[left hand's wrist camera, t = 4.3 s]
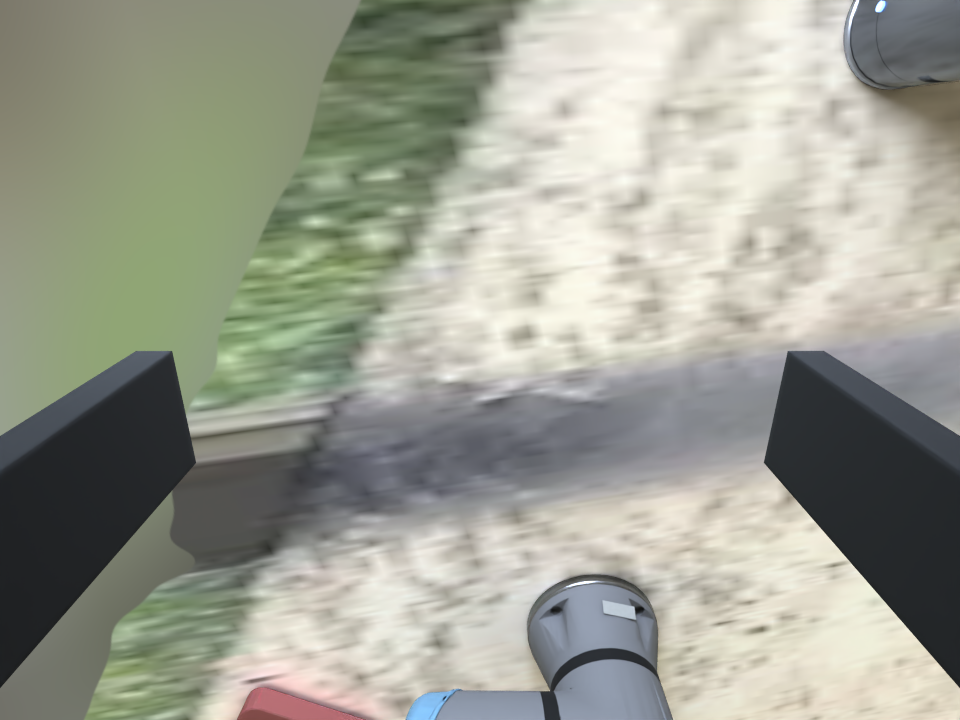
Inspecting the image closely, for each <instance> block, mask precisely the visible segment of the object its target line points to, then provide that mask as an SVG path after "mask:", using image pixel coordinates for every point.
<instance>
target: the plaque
mask: <svg viewBox="0 0 960 720" xmlns="http://www.w3.org/2000/svg"><path fill="white" fill-rule="evenodd" d="M237 720H365V719H361V718H358V717H355V716H352V715H349V714H346V713H343V712H340V711H337V710H334V709H330V708H327V707H324V706H321V705H318V704H315V703H312V702H309V701H306V700H302V699H299V698H296V697H293V696H290V695H287V694H284V693H281V692H278V691H275V690H271V689H268V688H257V689H254V690H253V691H252V692H251V693H250V694H249V695H248V697H247V700H246V702H245V704H244V706H243V708H242V710H241V712H240V714H239V717H238V719H237Z"/></svg>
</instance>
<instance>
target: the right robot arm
mask: <svg viewBox="0 0 960 720" xmlns="http://www.w3.org/2000/svg"><path fill="white" fill-rule="evenodd" d="M844 51H845V55H846V59H847V61H848V64H849V66H850V68H851V70H852V71H853V72H854V74H855V75H856V76H857V77H858V78H859V79H860V80H861V81H863V82H864V83H866V84H868V85H870V86H872V87H875V88H879V89H900V88H906V87H911V86H918V85H923V84H932V83H940V82H949V81H957V80H960V0H854V1H853V3H852V5H851V7H850V10H849V12H848V15H847V19H846V23H845V28H844ZM957 82H959V81H957ZM950 83H951V82H950ZM942 84H943V83H942ZM934 85H936V84H934ZM926 86H928V85H926ZM919 87H920V86H919Z"/></svg>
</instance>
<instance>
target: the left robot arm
mask: <svg viewBox="0 0 960 720" xmlns="http://www.w3.org/2000/svg"><path fill="white" fill-rule="evenodd" d="M195 463H196V460H195V456H194V451H193V446H192V442H191V437H190V432H189V428H188V423H187V418H186V414H185V409H184V404H183V400H182V395H181V391H180V386H179V381H178V376H177V372H176V367H175V363H174V358H173V353H172V351H136V352H134V353H132V354H131V355H129V356H128V357H126V358H124V359H123V360H121V361H120V362H118V363H116V364H115V365H113V366H112V367H110V368H108V369H107V370H105V371H104V372H102V373H100V374H99V375H97V376H96V377H94V378H92V379H91V380H89V381H88V382H86V383H84V384H83V385H81V386H80V387H78V388H76V389H75V390H73V391H72V392H70V393H68V394H67V395H65V396H64V397H62V398H60V399H59V400H57V401H56V402H54V403H52V404H51V405H49V406H48V407H46V408H44V409H43V410H41V411H40V412H38V413H36V414H35V415H33V416H32V417H30V418H28V419H27V420H25V421H24V422H22V423H20V424H19V425H17V426H16V427H14V428H12V429H11V430H9V431H8V432H6V433H4V434H3V435H1V436H0V688H1V686H2V685H3V684H4V683H5V682H6V681H7V679H8V678H9V677H10V676H11V675H12V674H13V673H14V671H15V670H16V669H17V668H18V667H19V666H20V664H21V663H22V662H23V661H24V660H25V659H26V658H27V656H28V655H29V654H30V653H31V652H32V651H33V649H34V648H35V647H36V646H37V645H38V644H39V643H40V642H41V640H42V639H43V638H44V637H45V636H46V635H47V633H48V632H49V631H50V630H51V629H52V628H53V627H54V625H55V624H56V623H57V622H58V621H59V620H60V619H61V617H62V616H63V615H64V614H65V613H66V612H67V610H68V609H69V608H70V607H71V606H72V605H73V604H74V602H75V601H76V600H77V599H78V598H79V597H80V596H81V594H82V593H83V592H84V591H85V590H86V589H87V588H88V586H89V585H90V584H91V583H92V582H93V581H94V579H95V578H96V577H97V576H98V575H99V574H100V573H101V571H102V570H103V569H104V568H105V567H106V566H107V565H108V563H109V562H110V561H111V560H112V559H113V558H114V556H115V555H116V554H117V553H118V552H119V551H120V549H121V548H122V547H123V546H124V545H125V544H126V543H127V541H128V540H129V539H130V538H131V537H132V536H133V535H134V533H135V532H136V531H137V530H138V529H139V528H140V526H141V525H142V524H143V523H144V522H145V521H146V520H147V519H148V517H149V516H150V515H151V514H152V513H153V512H154V510H155V509H156V508H157V507H158V506H159V505H160V504H161V502H162V501H163V500H164V499H165V498H166V497H167V495H168V494H169V493H170V492H171V491H172V490H173V489H174V487H175V486H176V485H177V484H178V483H179V482H180V481H181V479H182V478H183V477H184V476H185V475H186V474H187V473H188V471H189V470H190V469H191V468H192V467H193V466H194V464H195ZM764 463H765V464H766V466H767V467H768V468H769V469H770V470H771V471H772V473H773V474H774V475H775V476H776V477H777V478H778V479H779V481H780V482H781V483H782V484H783V485H784V486H785V487H786V489H787V490H788V491H789V492H790V493H791V494H792V496H793V497H794V498H795V499H796V500H797V501H798V502H799V504H800V505H801V506H802V507H803V508H804V509H805V510H806V512H807V513H808V514H809V515H810V516H811V517H812V519H813V520H814V521H815V522H816V523H817V524H818V525H819V527H820V528H821V529H822V530H823V531H824V532H825V533H826V535H827V536H828V537H829V538H830V539H831V540H832V542H833V543H834V544H835V545H836V546H837V547H838V548H839V550H840V551H841V552H842V553H843V554H844V555H845V556H846V558H847V559H848V560H849V561H850V562H851V563H852V565H853V566H854V567H855V568H856V569H857V570H858V571H859V573H860V574H861V575H862V576H863V577H864V578H865V579H866V581H867V582H868V583H869V584H870V585H871V586H872V588H873V589H874V590H875V591H876V592H877V593H878V594H879V596H880V597H881V598H882V599H883V600H884V601H885V602H886V604H887V605H888V606H889V607H890V608H891V609H892V610H893V612H894V613H895V614H896V615H897V616H898V617H899V619H900V620H901V621H902V622H903V623H904V624H905V625H906V627H907V628H908V629H909V630H910V631H911V632H912V633H913V635H914V636H915V637H916V638H917V639H918V640H919V642H920V643H921V644H922V645H923V646H924V647H925V648H926V650H927V651H928V652H929V653H930V654H931V655H932V656H933V658H934V659H935V660H936V661H937V662H938V663H939V665H940V666H941V667H942V668H943V669H944V670H945V671H946V673H947V674H948V675H949V676H950V677H951V678H952V679H953V681H954V682H955V683H956V684H957V685H958V686H959V688H960V436H959V435H957V434H956V433H954V432H952V431H951V430H949V429H948V428H946V427H944V426H943V425H941V424H940V423H938V422H936V421H935V420H933V419H932V418H930V417H928V416H927V415H925V414H924V413H922V412H920V411H919V410H917V409H916V408H914V407H912V406H911V405H909V404H908V403H906V402H904V401H903V400H901V399H900V398H898V397H896V396H895V395H893V394H892V393H890V392H888V391H887V390H885V389H884V388H882V387H880V386H879V385H877V384H876V383H874V382H872V381H871V380H869V379H868V378H866V377H864V376H863V375H861V374H860V373H858V372H856V371H855V370H853V369H852V368H850V367H848V366H847V365H845V364H844V363H842V362H840V361H839V360H837V359H836V358H834V357H832V356H831V355H829V354H828V353H826V352H824V351H788V353H787V358H786V363H785V367H784V372H783V376H782V381H781V386H780V390H779V395H778V400H777V404H776V409H775V414H774V418H773V423H772V428H771V432H770V437H769V442H768V446H767V451H766V456H765V460H764ZM527 632H528V641H529V646H530V649H531V652H532V655H533V657H534V659H535V661H536V663H537V665H538V667H539V669H540V671H541V673H542V675H543V677H544V679H545V681H546V683H547V685H548V687H549V689H550V691H463V690H461V689H456V690H454V689H453V690H451V691H449V692H431V693H427V694H424V695H422V696H421V697H419V698H418V699H417V700H416V701H415V702H414V703H413V705H412V706H411V708H410V710H409V712H408V715H407V717H406V720H673V718H672V715H671V712H670V709H669V706H668V703H667V700H666V697H665V694H664V691H663V688H662V686H661V683H660V680H659V677H658V674H657V654H658V627H657V621H656V617H655V614H654V611H653V609H652V606H651V604H650V602H649V600H648V599H647V597H646V596H645V595H644V593H643V592H642V591H641V590H639V589H638V588H637V587H636V586H634V585H632V584H631V583H629V582H627V581H625V580H622V579H619V578H616V577H612V576H606V575H584V576H578V577H574V578H570V579H567V580H564V581H562V582H560V583H558V584H556V585H554V586H552V587H551V588H549V589H548V590H547V591H545V592H544V593H543V594H542V595H541V596H540V597H539V598H538V599H537V601H536V602H535V603H534V605H533V607H532V608H531V610H530V613H529V616H528V621H527Z"/></svg>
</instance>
